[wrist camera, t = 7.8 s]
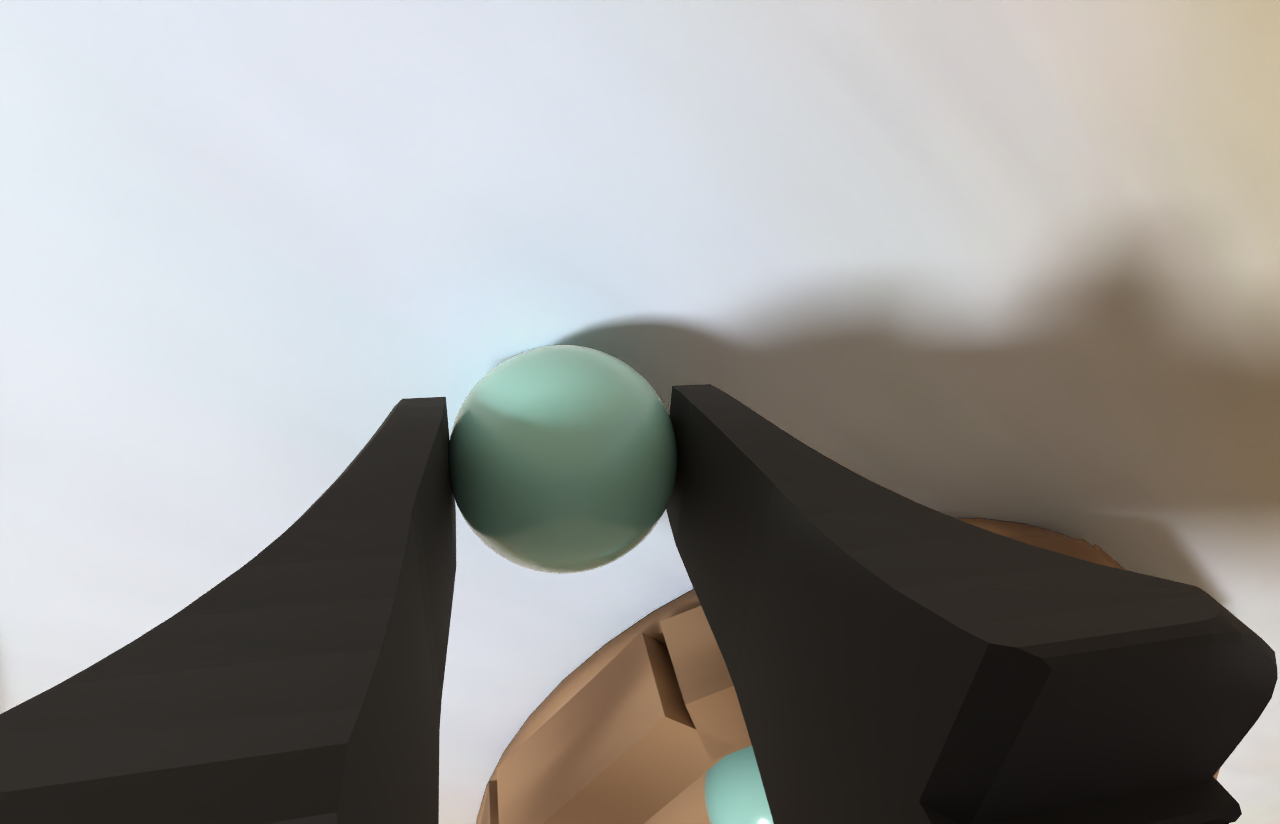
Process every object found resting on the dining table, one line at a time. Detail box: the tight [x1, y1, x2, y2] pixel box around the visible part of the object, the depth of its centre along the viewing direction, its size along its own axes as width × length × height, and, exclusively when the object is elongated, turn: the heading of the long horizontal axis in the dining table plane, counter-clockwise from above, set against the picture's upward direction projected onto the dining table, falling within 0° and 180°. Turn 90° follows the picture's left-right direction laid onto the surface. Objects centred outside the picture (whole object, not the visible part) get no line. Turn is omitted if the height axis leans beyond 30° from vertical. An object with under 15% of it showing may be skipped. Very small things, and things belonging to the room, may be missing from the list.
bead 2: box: [704, 746, 774, 824], centre depth 16 cm, size 3×3×3 cm
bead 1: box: [449, 345, 678, 573], centre depth 11 cm, size 3×3×3 cm
